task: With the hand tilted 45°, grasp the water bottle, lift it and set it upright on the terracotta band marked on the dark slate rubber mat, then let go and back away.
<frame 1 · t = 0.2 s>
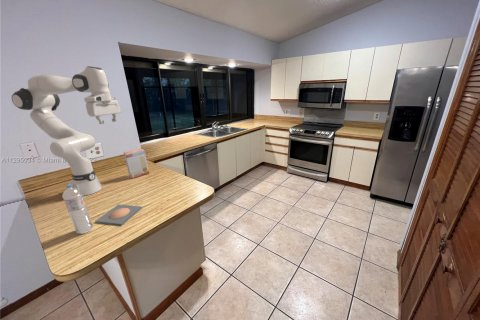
hand: (108, 122, 115), 48 cm above the counter, tool pointing down, fingers open, 8 cm apart
water bottle: (85, 230, 98), on the counter
cracker box: (139, 175, 161), on the counter
band mat: (120, 214, 109), on the counter
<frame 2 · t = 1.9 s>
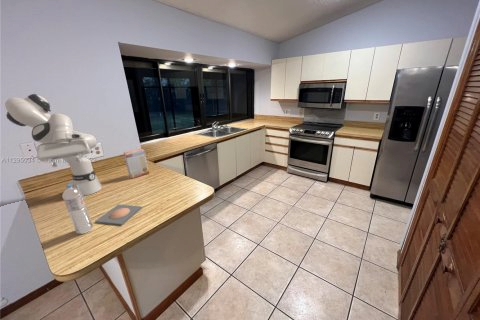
hand: (66, 164, 96), 32 cm above the counter, tool tilted 45°, fingers open, 8 cm apart
nothing on the counter moved.
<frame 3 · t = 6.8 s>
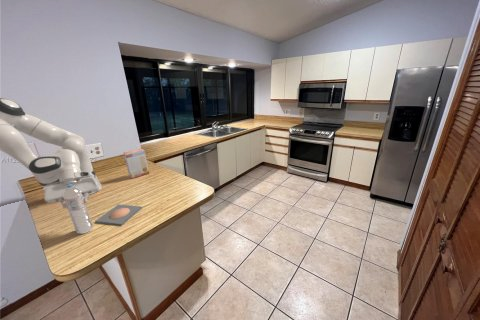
hand: (75, 204, 92), 15 cm above the counter, tool tilted 45°, fingers closed on water bottle, 6 cm apart
water bottle: (85, 230, 98), on the counter, touching gripper
everything else where it was.
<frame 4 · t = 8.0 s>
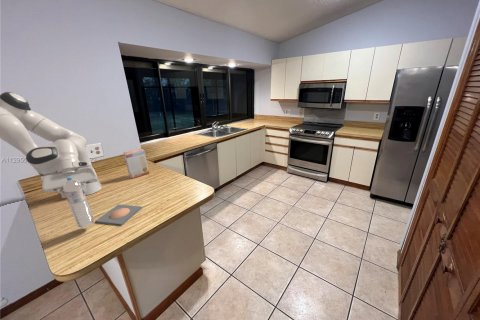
hand: (74, 194, 91), 20 cm above the counter, tool tilted 45°, fingers closed on water bottle, 6 cm apart
water bottle: (86, 223, 97), point 3 cm above the counter, touching gripper
everything else where it was.
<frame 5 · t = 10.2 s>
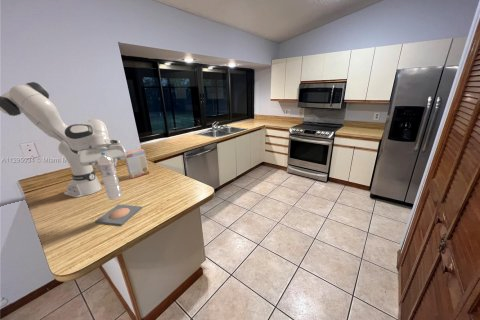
hand: (106, 168, 99), 28 cm above the counter, tool tilted 45°, fingers closed on water bottle, 6 cm apart
water bottle: (115, 197, 106), point 11 cm above the counter, touching gripper
everything else where it was.
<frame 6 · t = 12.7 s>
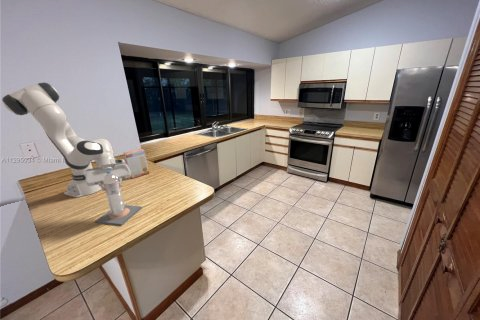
hand: (112, 188, 103), 17 cm above the counter, tool tilted 45°, fingers closed on water bottle, 6 cm apart
water bottle: (119, 213, 109), point 1 cm above the counter, touching band mat, gripper
everything else where it was.
when the fingers open (17 cm above the counter, at t = 13.5 s): water bottle stays where it is, resting on band mat.
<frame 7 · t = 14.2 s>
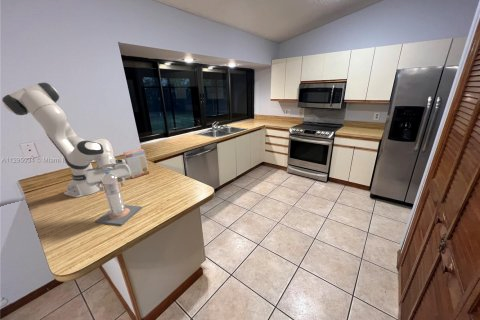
hand: (112, 188, 103), 17 cm above the counter, tool tilted 45°, fingers open, 8 cm apart
water bottle: (119, 213, 109), point 1 cm above the counter, touching band mat
everything else where it was.
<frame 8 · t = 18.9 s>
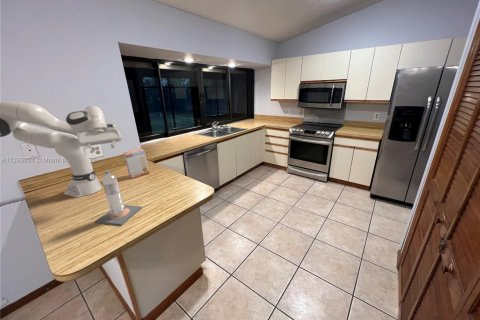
hand: (103, 149, 110), 34 cm above the counter, tool tilted 45°, fingers open, 8 cm apart
nothing on the counter moved.
at the end: water bottle inside the target area on the band mat (0.4 cm from its centre), point 1.0 cm above the band mat's base; water bottle tilted 0°; the gripper is holding nothing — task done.
